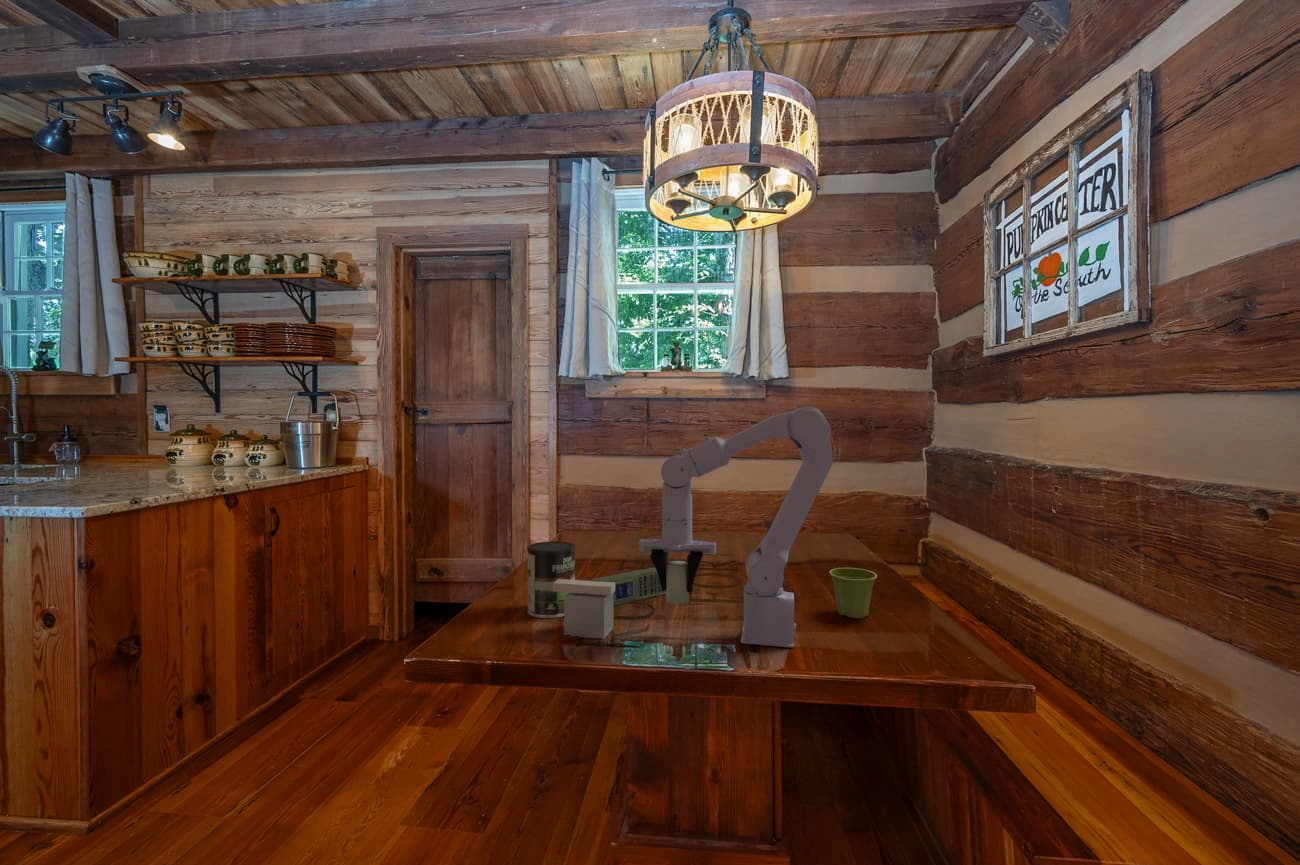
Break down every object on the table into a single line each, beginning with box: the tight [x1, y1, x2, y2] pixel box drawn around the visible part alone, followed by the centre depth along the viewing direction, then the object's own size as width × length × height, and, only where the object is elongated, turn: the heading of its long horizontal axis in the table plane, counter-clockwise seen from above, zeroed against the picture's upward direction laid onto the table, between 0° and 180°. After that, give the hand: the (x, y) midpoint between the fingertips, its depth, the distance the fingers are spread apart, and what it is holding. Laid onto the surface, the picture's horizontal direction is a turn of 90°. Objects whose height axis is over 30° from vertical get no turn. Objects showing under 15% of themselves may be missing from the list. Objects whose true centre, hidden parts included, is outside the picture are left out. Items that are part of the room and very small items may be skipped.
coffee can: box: [526, 540, 576, 619], centre depth 121 cm, size 10×10×14 cm
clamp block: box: [563, 593, 615, 640], centre depth 109 cm, size 8×6×8 cm
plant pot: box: [829, 567, 878, 619], centre depth 119 cm, size 9×9×9 cm
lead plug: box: [665, 560, 690, 605], centre depth 107 cm, size 4×4×7 cm
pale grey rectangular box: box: [553, 579, 615, 595], centre depth 109 cm, size 12×3×2 cm, turn 77°
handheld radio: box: [591, 566, 666, 607], centre depth 127 cm, size 7×3×25 cm
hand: (677, 590), depth 107 cm, fingers closed on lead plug, 4 cm apart
